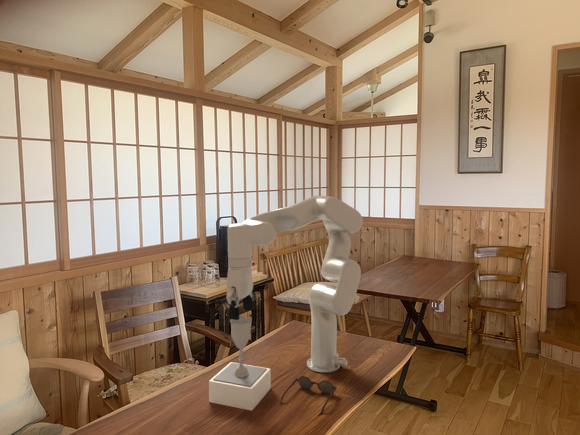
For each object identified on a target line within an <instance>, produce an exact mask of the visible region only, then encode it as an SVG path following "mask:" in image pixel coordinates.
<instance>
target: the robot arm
mask: <svg viewBox="0 0 580 435" xmlns="http://www.w3.org/2000/svg"><path fill="white" fill-rule="evenodd" d="M320 220H322V223H323V226H324V227H325V229H326V232H327V235H328V245H327V248H326V252H325V255H324V258H323V262H322V264H321V268H320V273H321V276H322V277H323V278H324V279H325V280H327V281H329V282H333V283H336V284H337V285H332V284H329V283H325V282H319V283H318V282H317V283H315V284H314V285H313V286H312V287H311V288H310V290H309V292H308V293H309V294H308V301H309V307H310V313H311V315H310V316H311V317H310V318H311V322H310V323H311V325H310V326H311V328H310V329H311V331H310V332H311V335H310V337H311V338H310V342H311V344H310V358H309V359H308V360H307V361H306V366H307V368H308V369H310V370H311V371H312V372H318V373H324V374H325V373H332V372H336V371H338V370H339V369H340V368H341V366H345V367H347V366H348V360H346V358H345V357H340V356H339V353H338V352H337V342H338V341H337V337H338V336H337V335H338V334H337V331H338V328H337V325H338V321H337V320H338V319H337V316H344V315H347V314H348V313H349V312H350V310H351V309H352V307H353V305H354V301H355V298H356V295H357V291H358V289H359V285H360V283H361V281H360V280H361V279H362V278H361V277H362V268H361V266H360V264H359V263H358V262H357V261H356V260H354V259H351V258H350V257H349V256H350V252H351V248H352V241H351V237H350V235H349V234H356V233H358V232H359V231H361V229H362V227H363V224H364V220H363V215H362V214H361V213H360V212H359V211H358V210H357V209H355V208H354V207H352V206H351V205H349V204H348V203H345V202H344V201H343V200H341V199H339V198H337V197H335V196H329V195H315V196H311V197H308V198H306V199H303V200H301V201H299V202H297V203H296V202H295V203H294V204H291V205H288V206H285V207H282V208H278V209H274V210H270V211H266V212H262V213H259V214H256V215H254V216H252V217H249V218H247V219H245V220H244V221H243V222H242V223H241V222H237V223H232V224H229V225H228V226H227V230H226V231H227V260H228V261H227V262H228V263H227V264H228V269H227V278H226V297H225V298H226V301H227V305H228V306H227V307H228V311H229V312H228V314H229V317H228V318H229V320H230V319H233V320H239V317H240V307H239V303H240V301H242V309H243V311H253V297H254V295H253V292H254V282H253V272H252V268H253V257H252V256H253V251H252V249H253V247H252V246H267V245H270V244H272V243H273V242H274V241H275V240H276V238H277V232H290V231H295V230H299V229H301V228H303V227H305V226H308V225H310V224H313V223H314V222H317V221H320Z"/></svg>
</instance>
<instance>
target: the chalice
mask: <svg viewBox="0 0 580 435" xmlns="http://www.w3.org/2000/svg"><path fill="white" fill-rule="evenodd" d="M252 321H253V319H252V317H247V316H239V320H233V319H230V318H229V322H230V327H231V328H230V329H231V331H230V336H231V339H232V342H233V343H234V345H235V347H236V349H239V352H238V356H239V357H238V362H239V365H238V366H237V367H236V369H235V372H234V376H236V377H245V376H247V375H248V374H249V372H248V370H247V367H246V366H244V365H243V364H244V363H243V361H244V359H245V358H244V357H243V356H244V351H243V349H244V348H246V346H247V345H248V342H249V339H250V336H251V324H252Z"/></svg>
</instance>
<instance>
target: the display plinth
mask: <svg viewBox="0 0 580 435" xmlns="http://www.w3.org/2000/svg"><path fill="white" fill-rule="evenodd" d="M239 364H240V362H239V363H238V362H232V361H230V362H229V363H228V364H227V365H226V366H224V367H223V368H222V369H221V370H220V371H219V372H218V373H216V374H215V375H214V376H213V377H212V378H210V380H208V403H213V404H217V405H221V406H222V405H223V406H226V407H232V408H237V409H243V410H246V411H253V410H254V409H255V408H256V406H258V404H260V402H261V401H262V400H263V398H264V397H265V396H266V395H267V393H268V392H269V391H270V390H271V387H272V386H271V385H272V384H271V381H272V380H271V376H272V375H271V372H272V371H271V370H272V369H271V368H270V367H264V366H256V365H249V364H246V363H245V364H244V363H243V365H244V366H246V367H247V370H248V372H249V374H248V375H247V376H245V377H236V376H234V372H235V369H236V367H237V366H238V365H239Z"/></svg>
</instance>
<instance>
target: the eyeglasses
mask: <svg viewBox="0 0 580 435" xmlns="http://www.w3.org/2000/svg"><path fill="white" fill-rule="evenodd" d="M297 382H298V385H299V387H300V388H302V389H306V390H311V389H312V388H313V386H314V385H316V386H317V388H318V390H319V391H320V392H321V393H326V394H330V395H329V396H328V397H327V400H326V401H325V403H324V405H323V407H322V409H321V411H320V412H319V413H318V414H317V417H319V416H321V415H322V414H323V412H324V410H325V408H326V406H327V404H328V402H329V400H330V399H331V398H332V397H333V395H334V394H335V392H336V391H337V386H334V384H333V383H332V382H331V381H329V380H324V379H323V380H320V381H319V382H316V381H311V379H310V378H309V377H308V376H306V375H301V376H299V377H298V378H295V379H294V380H293V382H292V383H291V384H290V385H288V387H286V388H287V389H285V391H284V392H283V394H282V396H281V399H280V403H279V405H280V407H282V402H283V399H284V397H285V395H286V393H287V392H288V391H289V390H290V389H291V388H292V387H293V386H294V385H295V383H297Z"/></svg>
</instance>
